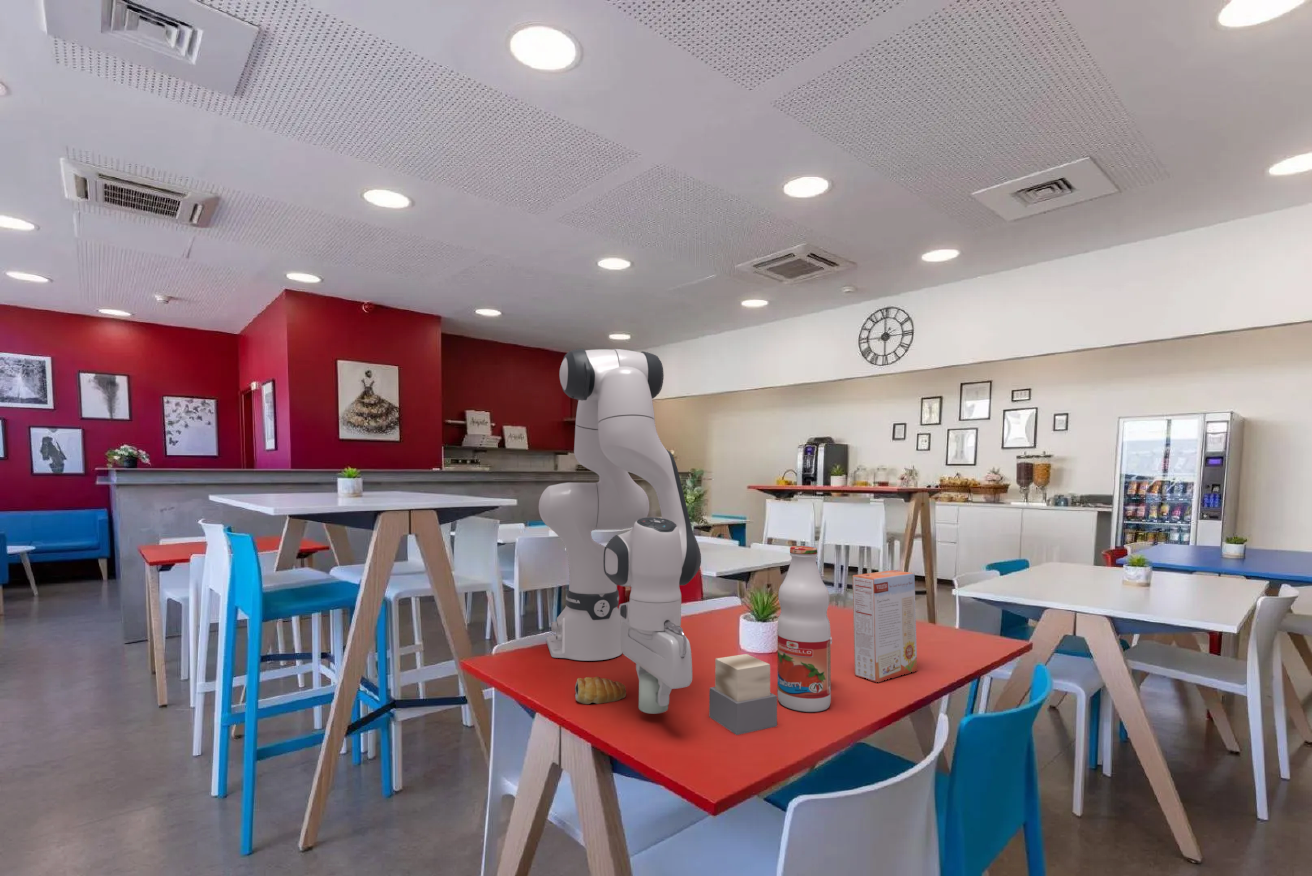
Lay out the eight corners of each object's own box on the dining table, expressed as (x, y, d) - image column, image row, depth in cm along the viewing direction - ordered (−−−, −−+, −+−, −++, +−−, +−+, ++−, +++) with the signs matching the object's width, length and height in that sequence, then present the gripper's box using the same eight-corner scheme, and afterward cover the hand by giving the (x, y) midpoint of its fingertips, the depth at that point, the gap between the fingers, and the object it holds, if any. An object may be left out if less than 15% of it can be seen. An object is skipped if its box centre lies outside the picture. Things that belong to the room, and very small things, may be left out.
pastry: (622, 690, 114) (622, 670, 114) (629, 703, 108) (629, 682, 108) (572, 694, 112) (573, 673, 112) (576, 708, 105) (577, 685, 105)
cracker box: (893, 664, 132) (892, 569, 133) (918, 672, 127) (916, 572, 128) (851, 675, 124) (851, 573, 126) (876, 684, 119) (875, 577, 121)
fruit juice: (840, 703, 108) (839, 547, 110) (813, 718, 102) (812, 551, 104) (795, 690, 115) (795, 543, 117) (767, 702, 108) (767, 546, 110)
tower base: (709, 718, 101) (709, 687, 102) (747, 710, 105) (747, 681, 105) (736, 736, 94) (736, 703, 95) (776, 727, 98) (776, 696, 98)
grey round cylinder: (633, 704, 102) (634, 674, 102) (659, 700, 104) (660, 670, 105) (646, 715, 98) (647, 684, 98) (673, 710, 100) (674, 680, 100)
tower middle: (715, 688, 101) (715, 658, 102) (746, 683, 104) (746, 653, 105) (737, 701, 96) (737, 669, 96) (770, 695, 99) (770, 664, 99)
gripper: (702, 627, 94) (701, 717, 93) (645, 601, 112) (644, 676, 111) (667, 631, 91) (665, 724, 90) (614, 603, 109) (613, 681, 109)
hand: (653, 697), depth 101 cm, fingers closed on grey round cylinder, 5 cm apart
